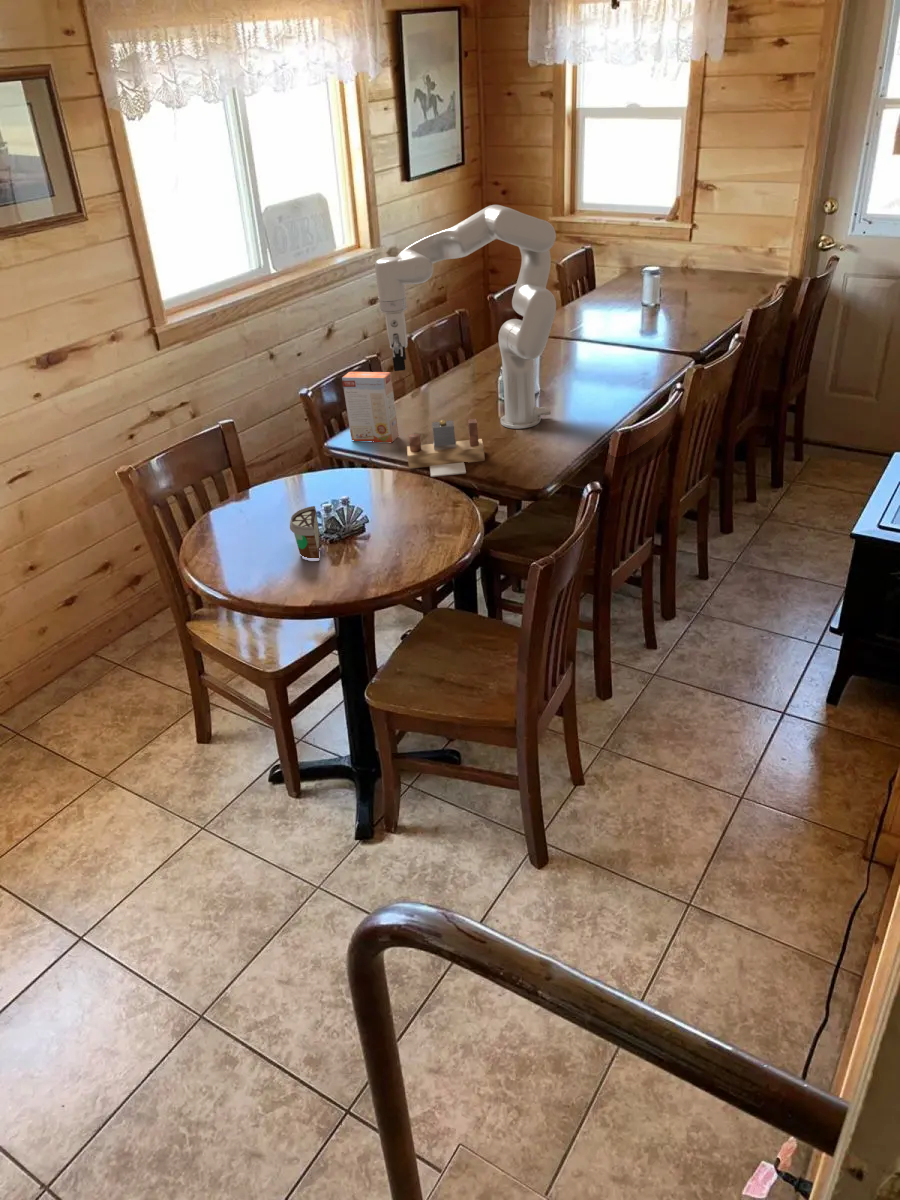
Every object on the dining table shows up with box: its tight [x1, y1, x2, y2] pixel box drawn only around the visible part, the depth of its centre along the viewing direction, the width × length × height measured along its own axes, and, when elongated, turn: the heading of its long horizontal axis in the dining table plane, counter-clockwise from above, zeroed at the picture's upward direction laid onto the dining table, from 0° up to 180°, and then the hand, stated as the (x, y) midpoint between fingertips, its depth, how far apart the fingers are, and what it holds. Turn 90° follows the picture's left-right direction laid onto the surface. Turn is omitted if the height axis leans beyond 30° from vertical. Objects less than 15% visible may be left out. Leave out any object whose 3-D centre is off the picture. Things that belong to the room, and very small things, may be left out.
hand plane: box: [406, 418, 486, 469], centre depth 259 cm, size 22×7×11 cm, turn 94°
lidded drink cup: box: [289, 505, 321, 558], centre depth 218 cm, size 12×6×10 cm, turn 5°
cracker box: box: [341, 371, 399, 444], centre depth 275 cm, size 14×6×21 cm, turn 71°
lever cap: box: [431, 419, 456, 446], centre depth 258 cm, size 6×4×6 cm
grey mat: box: [429, 462, 467, 478], centre depth 256 cm, size 10×7×1 cm
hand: (400, 365), depth 259 cm, fingers open, 9 cm apart
